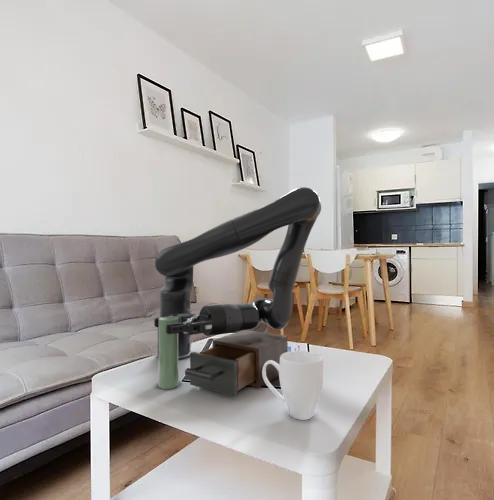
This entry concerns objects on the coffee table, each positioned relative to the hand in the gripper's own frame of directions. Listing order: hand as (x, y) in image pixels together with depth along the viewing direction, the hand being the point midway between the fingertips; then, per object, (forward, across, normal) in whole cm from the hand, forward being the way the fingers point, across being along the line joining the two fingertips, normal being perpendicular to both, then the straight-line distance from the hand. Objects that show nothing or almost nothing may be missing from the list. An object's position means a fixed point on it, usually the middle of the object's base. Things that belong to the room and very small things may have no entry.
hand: (160, 325), depth 86 cm
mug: (-18, +27, +14) cm, 35 cm away
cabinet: (-23, +3, +14) cm, 28 cm away
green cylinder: (-2, 0, +14) cm, 15 cm away
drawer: (-12, +8, +13) cm, 20 cm away
